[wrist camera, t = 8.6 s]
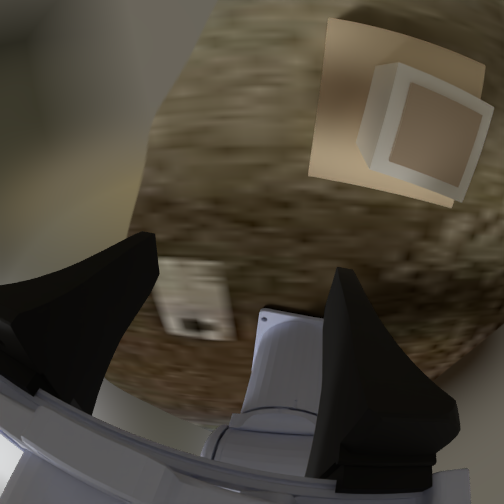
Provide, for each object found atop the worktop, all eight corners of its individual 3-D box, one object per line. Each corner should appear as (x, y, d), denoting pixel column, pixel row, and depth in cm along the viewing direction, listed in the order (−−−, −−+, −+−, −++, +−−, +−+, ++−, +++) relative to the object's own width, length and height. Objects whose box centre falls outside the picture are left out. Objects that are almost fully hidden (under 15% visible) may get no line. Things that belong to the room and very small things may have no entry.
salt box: (427, 167, 15) (463, 205, 11) (355, 142, 15) (370, 171, 11) (450, 95, 13) (497, 108, 8) (375, 65, 13) (400, 61, 9)
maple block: (437, 189, 18) (451, 208, 16) (309, 160, 20) (307, 175, 17) (464, 64, 13) (485, 65, 11) (327, 25, 14) (328, 17, 12)
